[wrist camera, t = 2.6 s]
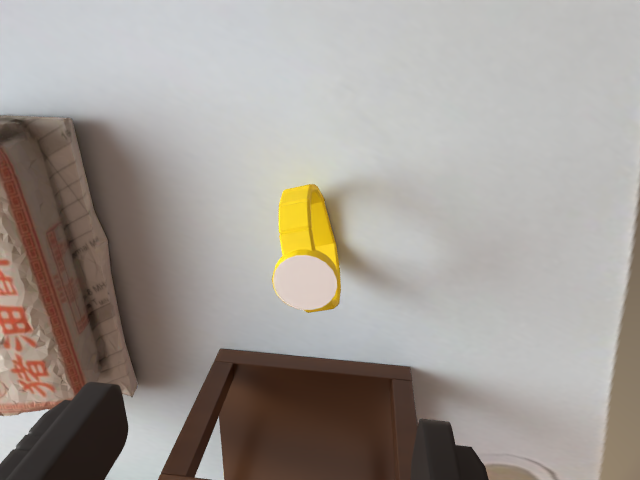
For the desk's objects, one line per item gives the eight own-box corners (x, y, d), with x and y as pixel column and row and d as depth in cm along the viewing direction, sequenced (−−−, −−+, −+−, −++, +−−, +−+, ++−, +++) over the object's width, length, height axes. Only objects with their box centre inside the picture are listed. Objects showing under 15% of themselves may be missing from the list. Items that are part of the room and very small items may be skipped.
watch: (278, 177, 23) (250, 221, 17) (330, 166, 22) (317, 208, 17) (307, 276, 25) (290, 342, 20) (355, 268, 24) (351, 334, 19)
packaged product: (-206, 129, 19) (9, 131, 18) (-98, 112, 23) (79, 113, 22) (-53, 432, 26) (104, 444, 25) (7, 375, 31) (142, 384, 30)
